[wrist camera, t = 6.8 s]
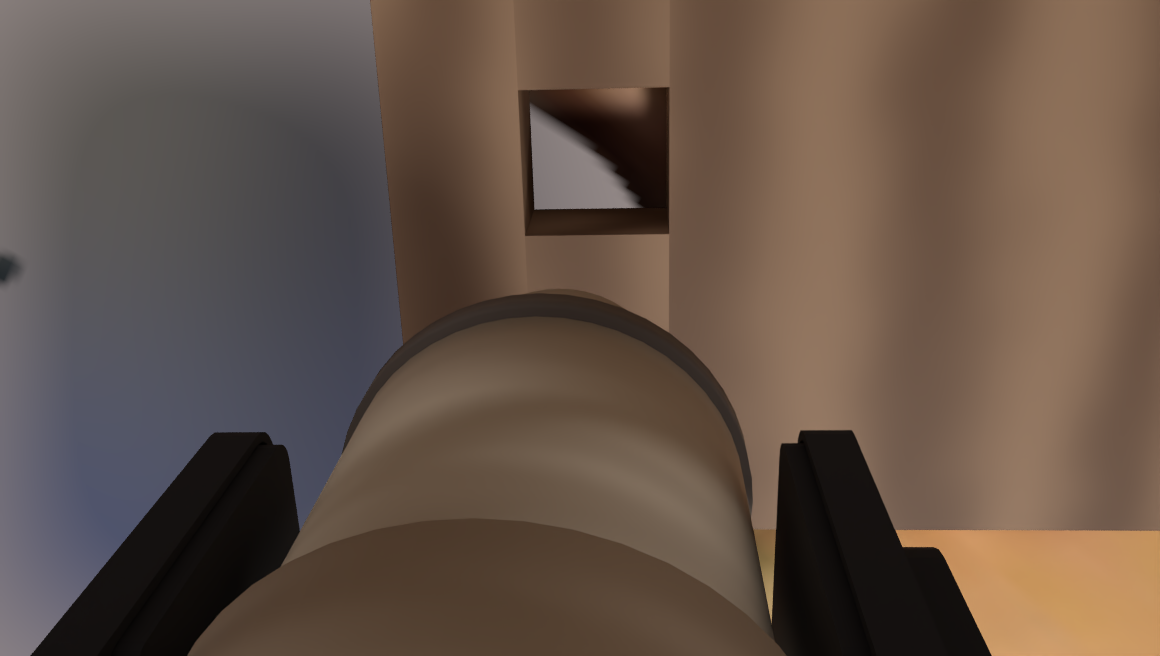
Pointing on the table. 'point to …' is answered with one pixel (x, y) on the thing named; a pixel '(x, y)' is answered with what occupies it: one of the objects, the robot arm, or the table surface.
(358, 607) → the ash leg
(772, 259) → the walnut board
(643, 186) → the table surface
